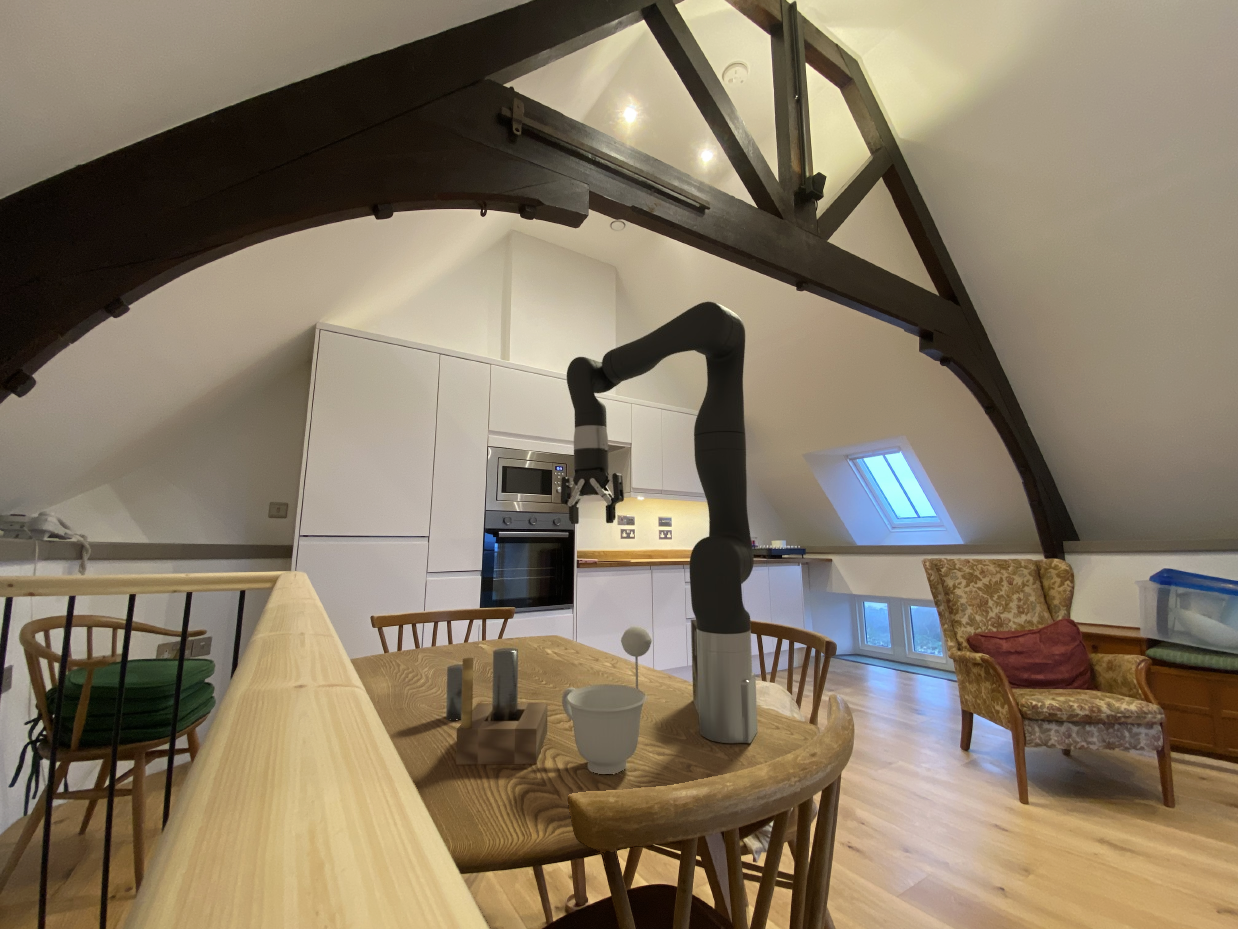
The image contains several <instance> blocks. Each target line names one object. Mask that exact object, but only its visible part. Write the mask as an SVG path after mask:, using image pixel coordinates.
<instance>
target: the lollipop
mask: <svg viewBox="0 0 1238 929" xmlns="http://www.w3.org/2000/svg"><path fill="white" fill-rule="evenodd" d="M652 641H653V640H652V637H651V635H650V633H649V632H648V631H647V629H645V628H644V627H642V626H639V625H633V626H629V627H628V628H626V629H625V631H624V632H623V634H622V636H621V640H620V642H621V646H622V648H623V651H624V652H625V653H627V655H629V656H630V657H635V658H634V659H635V661H634V662H635V665H634V666H635V688H637V689H639V671H638V670H639V666H638V665H639V662H638V661H639V659H638V657H642V656H644V655H646V654H647V653H648V651H649V650H650V648H651V645H652Z"/></svg>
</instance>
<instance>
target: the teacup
mask: <svg viewBox="0 0 1238 929" xmlns="http://www.w3.org/2000/svg"><path fill="white" fill-rule="evenodd" d="M647 699H648V697H647V694H646V693H645V692H644V691H642V690H641V689H639V688H638V689H637V688H636V687H633V686H630V685H623V684H609V683H608V684H593V685H588V686H583V687H579V688H575V687H568V688H566V689H565V690H564V692H563V693H562V698H561V704H562V708H563V711H564V713H565V715H566V717H568V718H569V720H571V721H572V725H573V734H574V735H573V736H574V741H575V746H576V748H577V751H578V754H579V755H580V756H581V758H583V759H584V760H585V761H587V769H588V770H589V771H590V772H591V773H593V772H594V773H593V774H595V773H598V774H597V775H599V774H613V773H617V772H620V771H622V770H623V771H625V770H626V768H627V760H628V759H630V758H631V757H632V756H633V755H634V753H635V752H636V750H637V748H638V743H639V738H640V730H641V728H640V727H641V718H642V716H641V715H642V710H643V709H642V708H643V706H644V703H646V701H647ZM625 767H626V768H625ZM624 769H625V770H624ZM623 771H622V772H623ZM620 773H621V772H620ZM617 774H618V773H617ZM613 775H614V774H613Z"/></svg>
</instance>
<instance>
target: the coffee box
mask: <svg viewBox="0 0 1238 929" xmlns="http://www.w3.org/2000/svg"><path fill="white" fill-rule="evenodd" d="M690 637H691V638H690V639H691V644H690V646H691V668H692V669H691V670H692V671H691V672H692V674H691V675H692V676H691V677H692V700H693V701H692V702H693V704H694V706H695V709H696V711H697V714H698V715H699V702H698V664H697V624H696V619H690Z"/></svg>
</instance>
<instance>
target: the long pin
mask: <svg viewBox="0 0 1238 929" xmlns="http://www.w3.org/2000/svg"><path fill="white" fill-rule="evenodd" d="M518 689H519V649H518V648H514V647H504V648H503V647H502V648H498V649H494V650H492V702H491V703H492V721H517V719H518V703H519V700H518V695H519V693H518V692H519V690H518Z"/></svg>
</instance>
